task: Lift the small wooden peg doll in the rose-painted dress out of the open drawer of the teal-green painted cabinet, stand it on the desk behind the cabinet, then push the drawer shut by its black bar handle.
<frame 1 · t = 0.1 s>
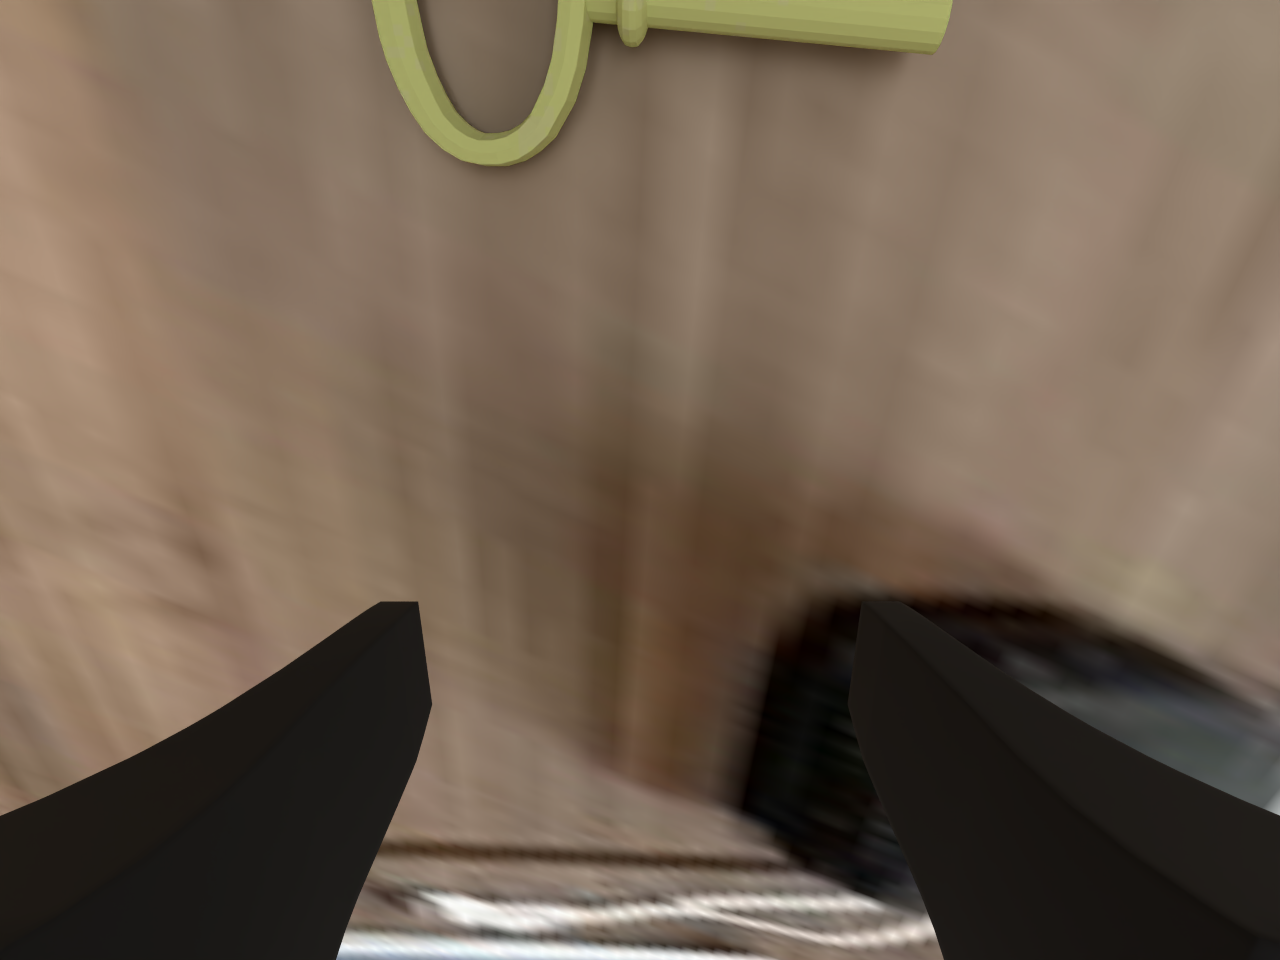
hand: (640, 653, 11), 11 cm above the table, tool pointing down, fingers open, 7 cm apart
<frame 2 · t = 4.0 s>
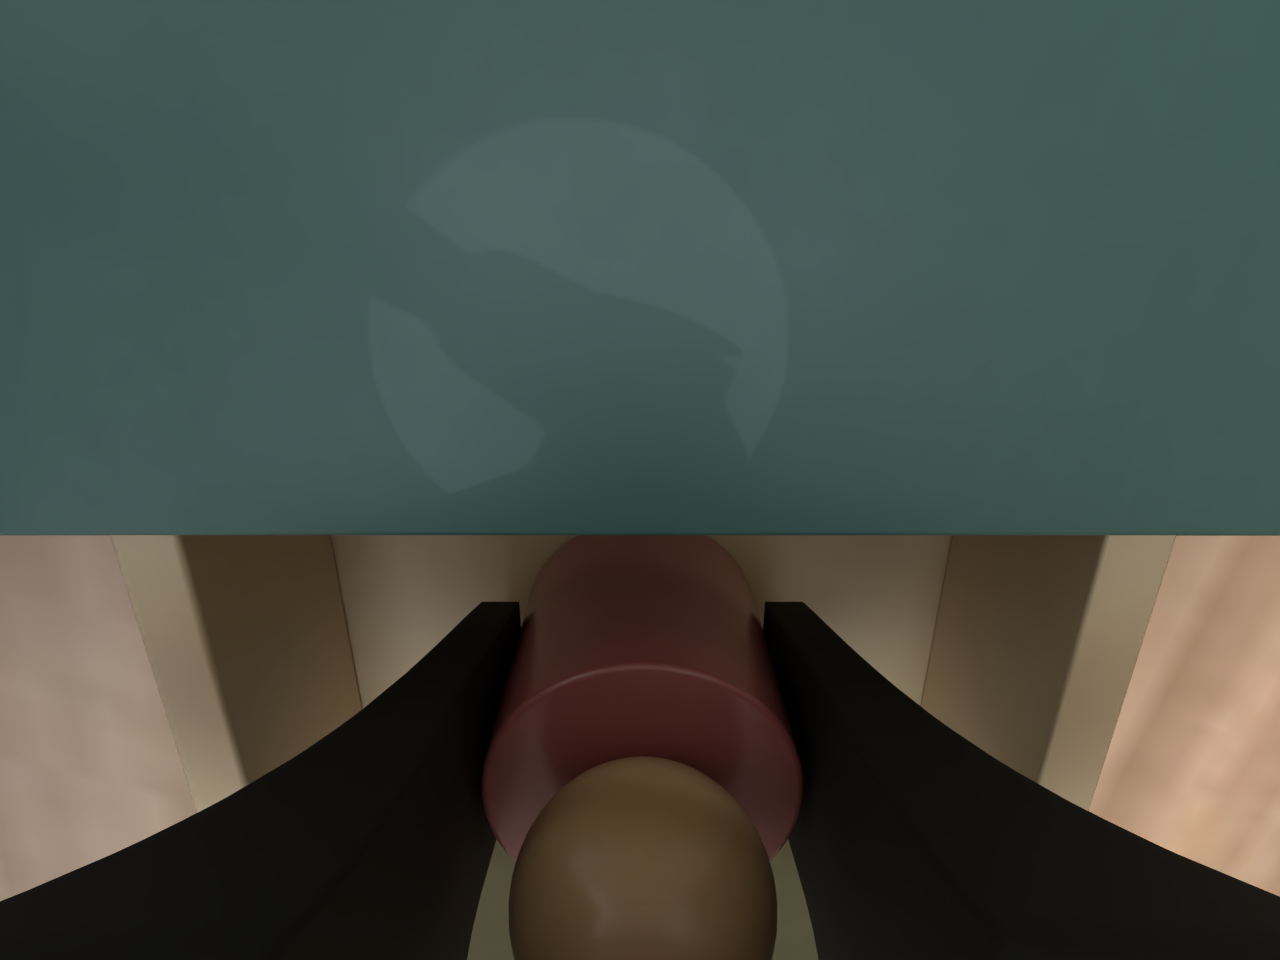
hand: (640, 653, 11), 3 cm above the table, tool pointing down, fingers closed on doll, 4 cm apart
doll: (641, 619, 12), point 2 cm above the table, touching drawer, gripper
drawer: (641, 739, 12), point 3 cm above the table, slide at 9.0 cm, touching doll
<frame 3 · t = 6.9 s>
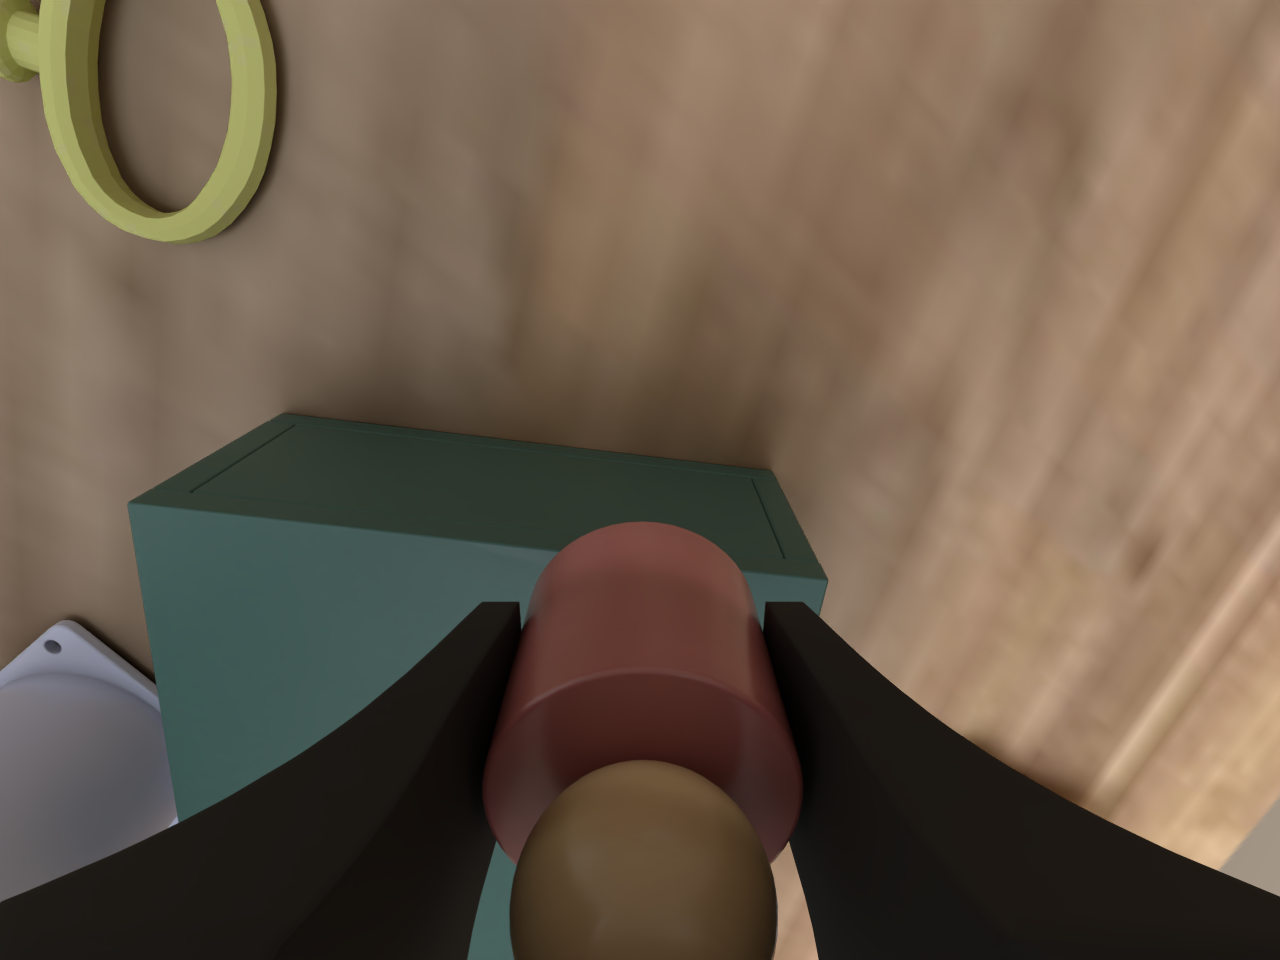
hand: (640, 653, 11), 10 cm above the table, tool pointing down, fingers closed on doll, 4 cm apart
doll: (641, 621, 12), point 9 cm above the table, touching gripper
cabinet: (516, 646, 23), on the table
key: (51, 50, 17), on the table
when the fingers open (1 cm above the table, at t = 9.9 s): doll stays where it is, on the table.
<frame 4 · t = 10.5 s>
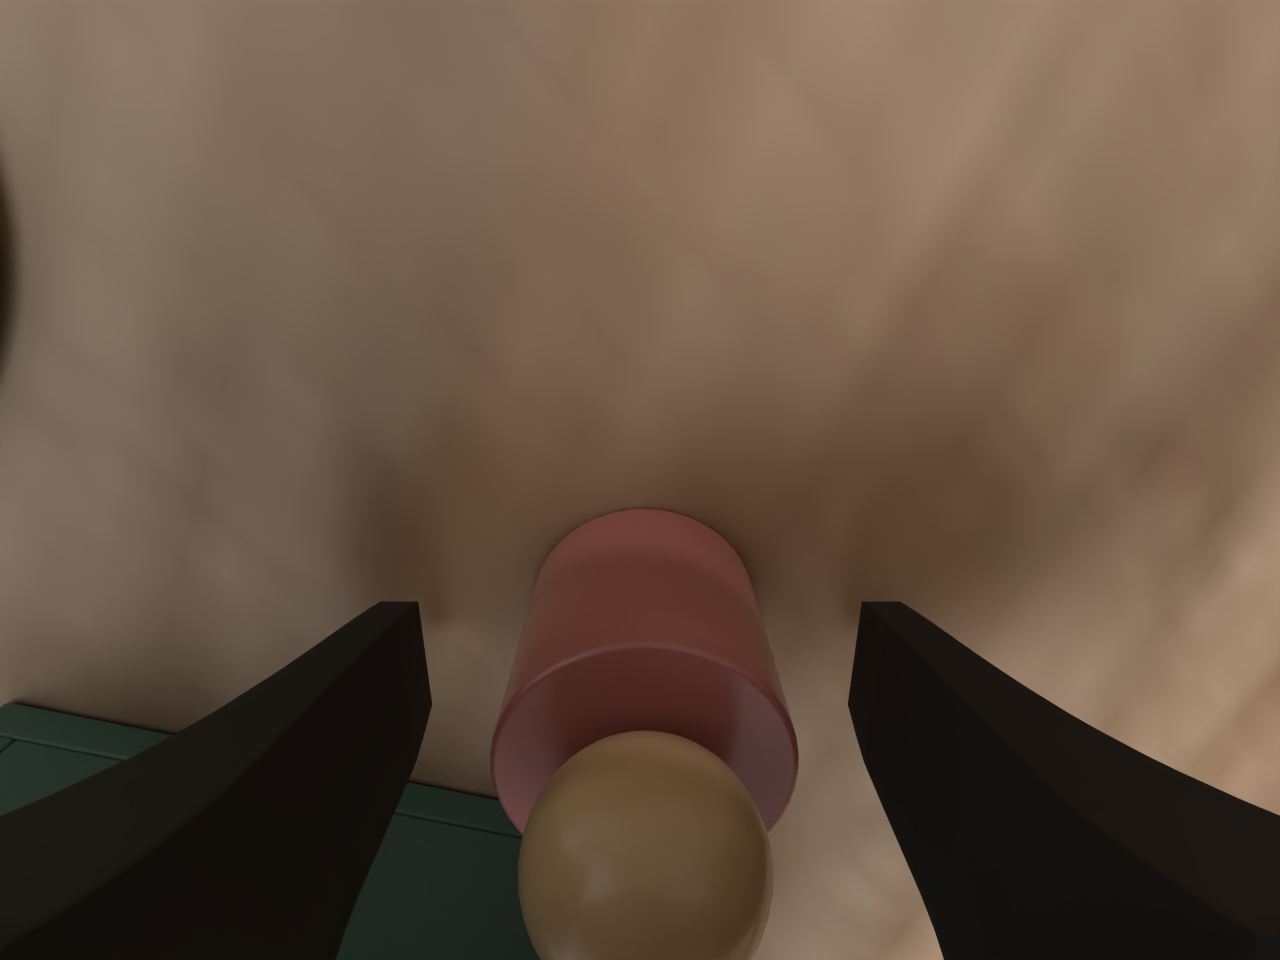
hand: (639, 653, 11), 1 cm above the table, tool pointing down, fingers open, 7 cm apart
doll: (643, 606, 13), on the table
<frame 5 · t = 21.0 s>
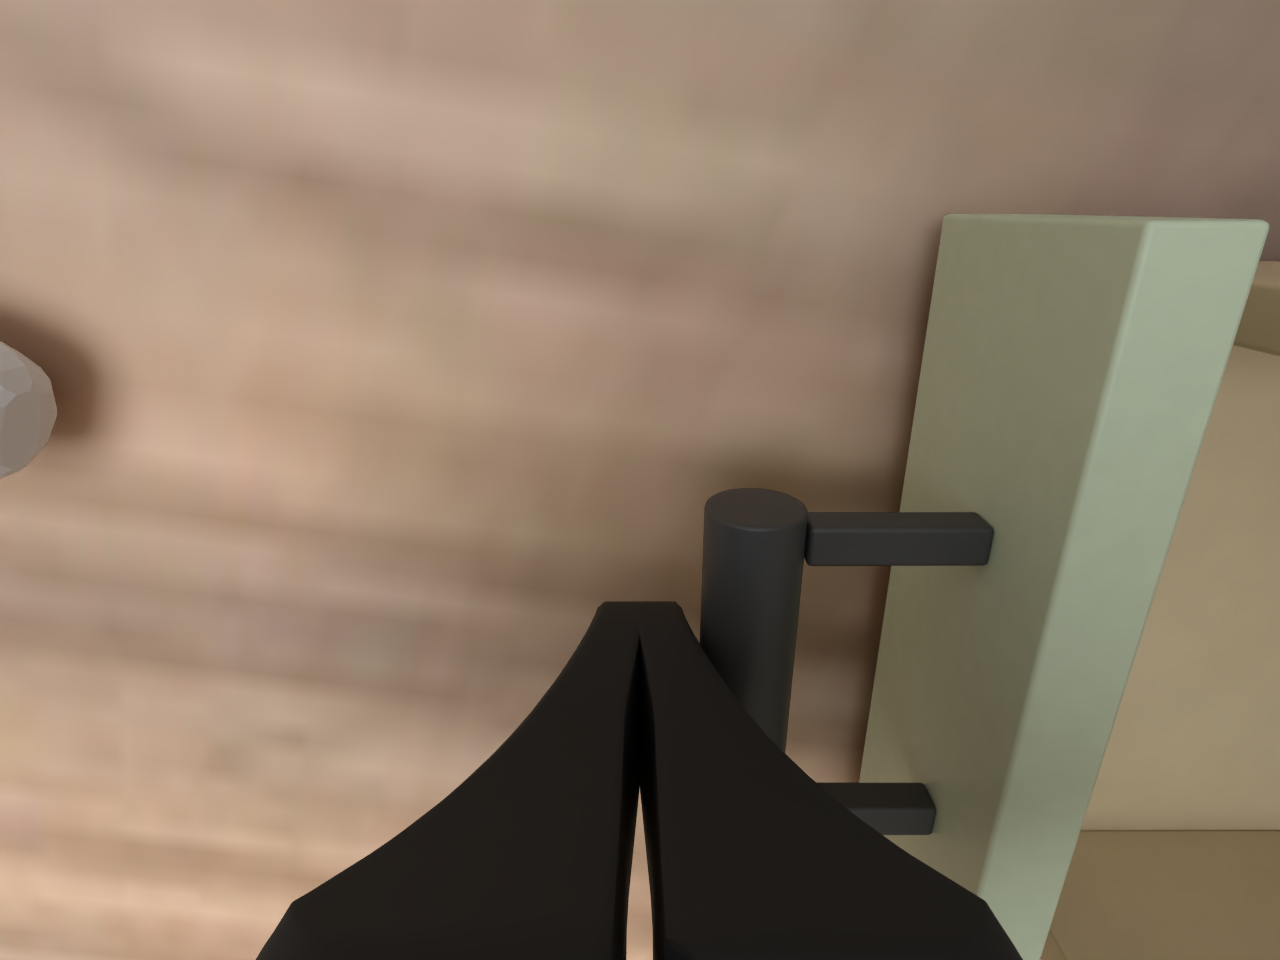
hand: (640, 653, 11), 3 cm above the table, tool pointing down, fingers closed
drawer: (1232, 658, 11), point 3 cm above the table, slide at 8.2 cm, touching gripper
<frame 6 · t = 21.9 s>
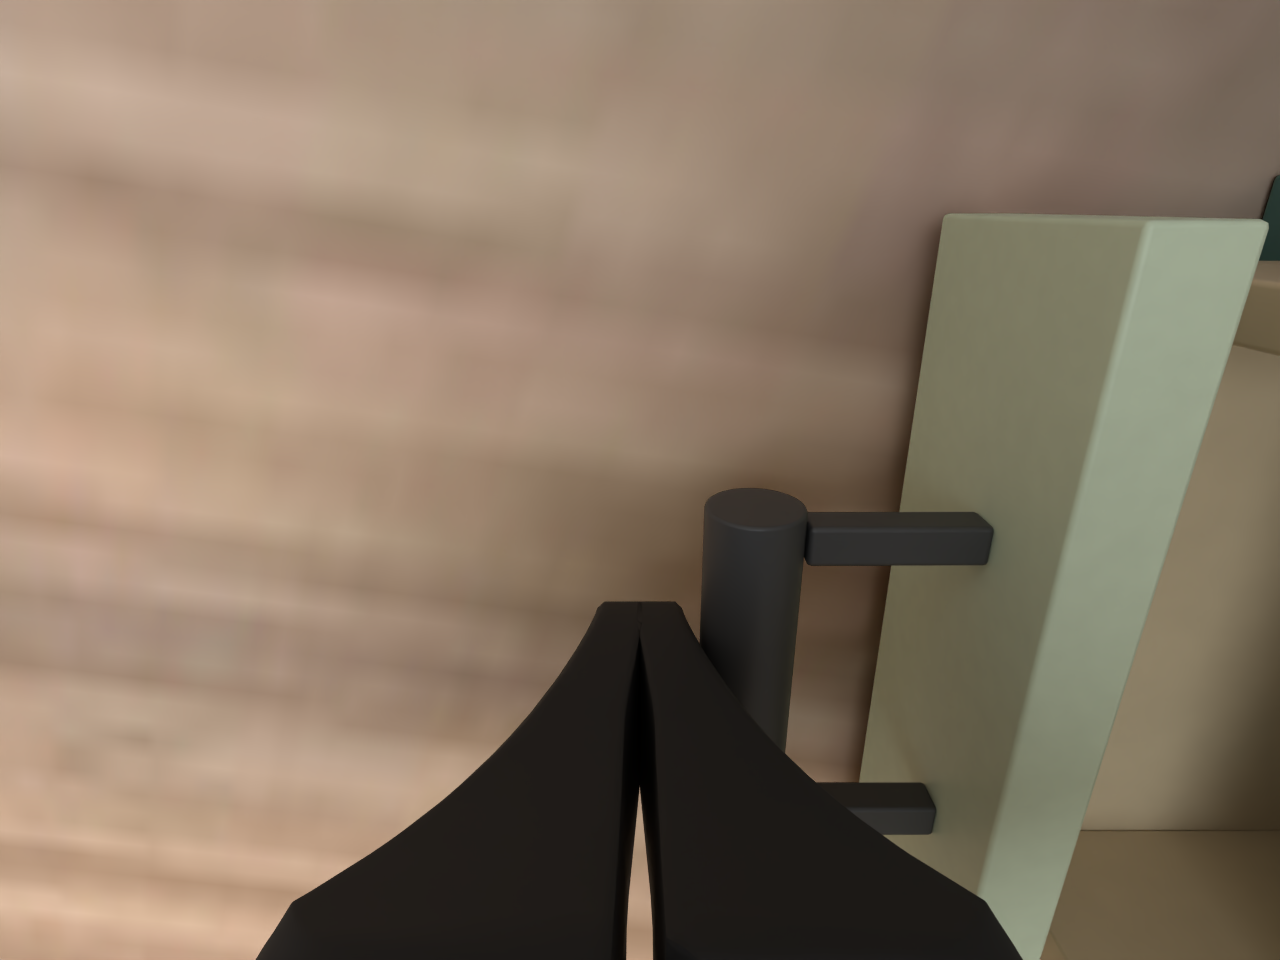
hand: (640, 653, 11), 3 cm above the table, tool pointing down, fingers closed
drawer: (1232, 658, 11), point 3 cm above the table, slide at 4.6 cm, touching gripper
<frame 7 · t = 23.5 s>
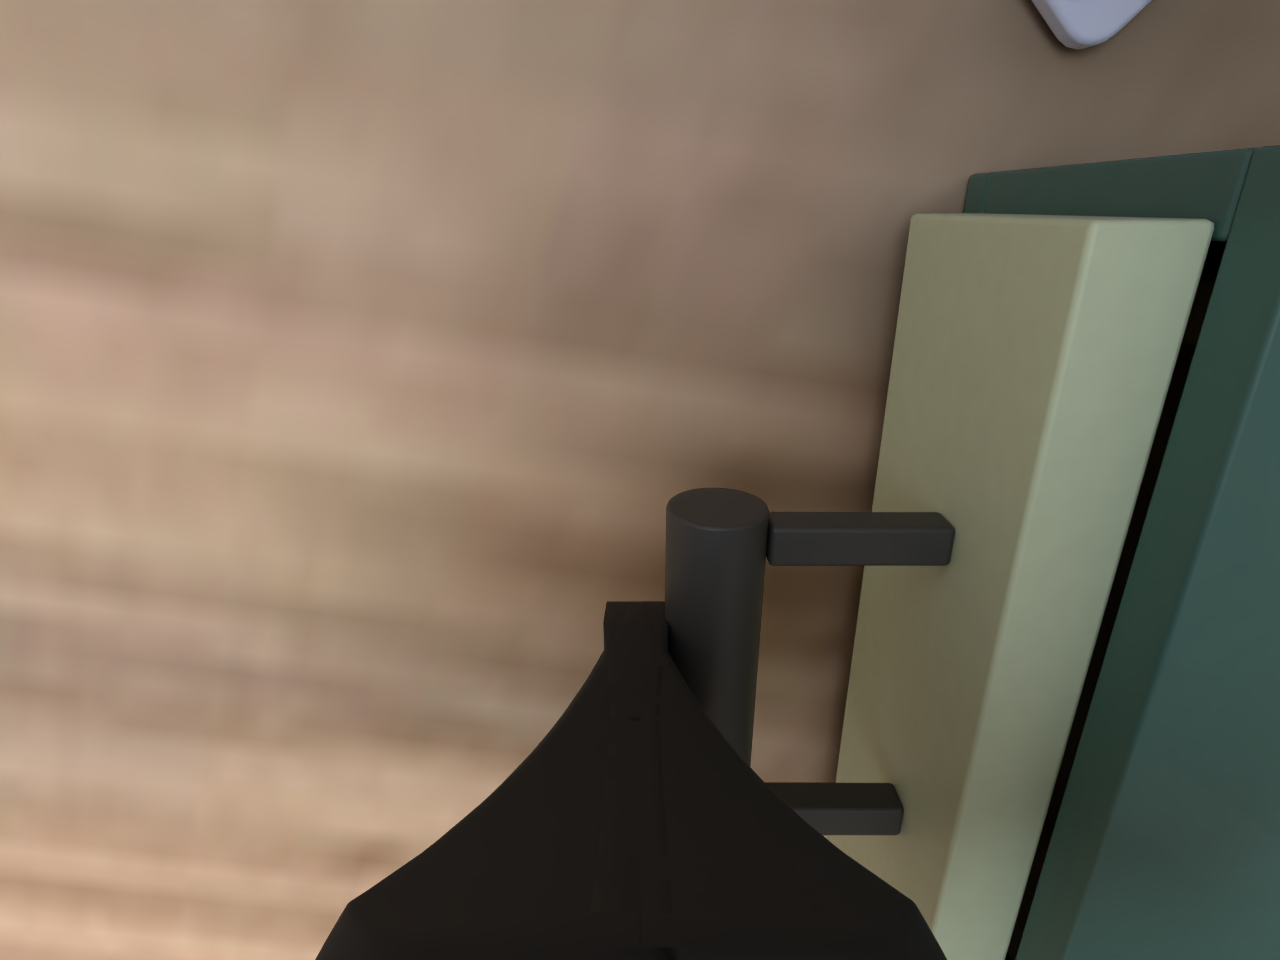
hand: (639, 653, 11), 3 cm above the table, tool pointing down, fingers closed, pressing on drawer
drawer: (1201, 659, 11), point 3 cm above the table, slide at 0.0 cm, touching cabinet, gripper
cabinet: (1261, 561, 14), on the table
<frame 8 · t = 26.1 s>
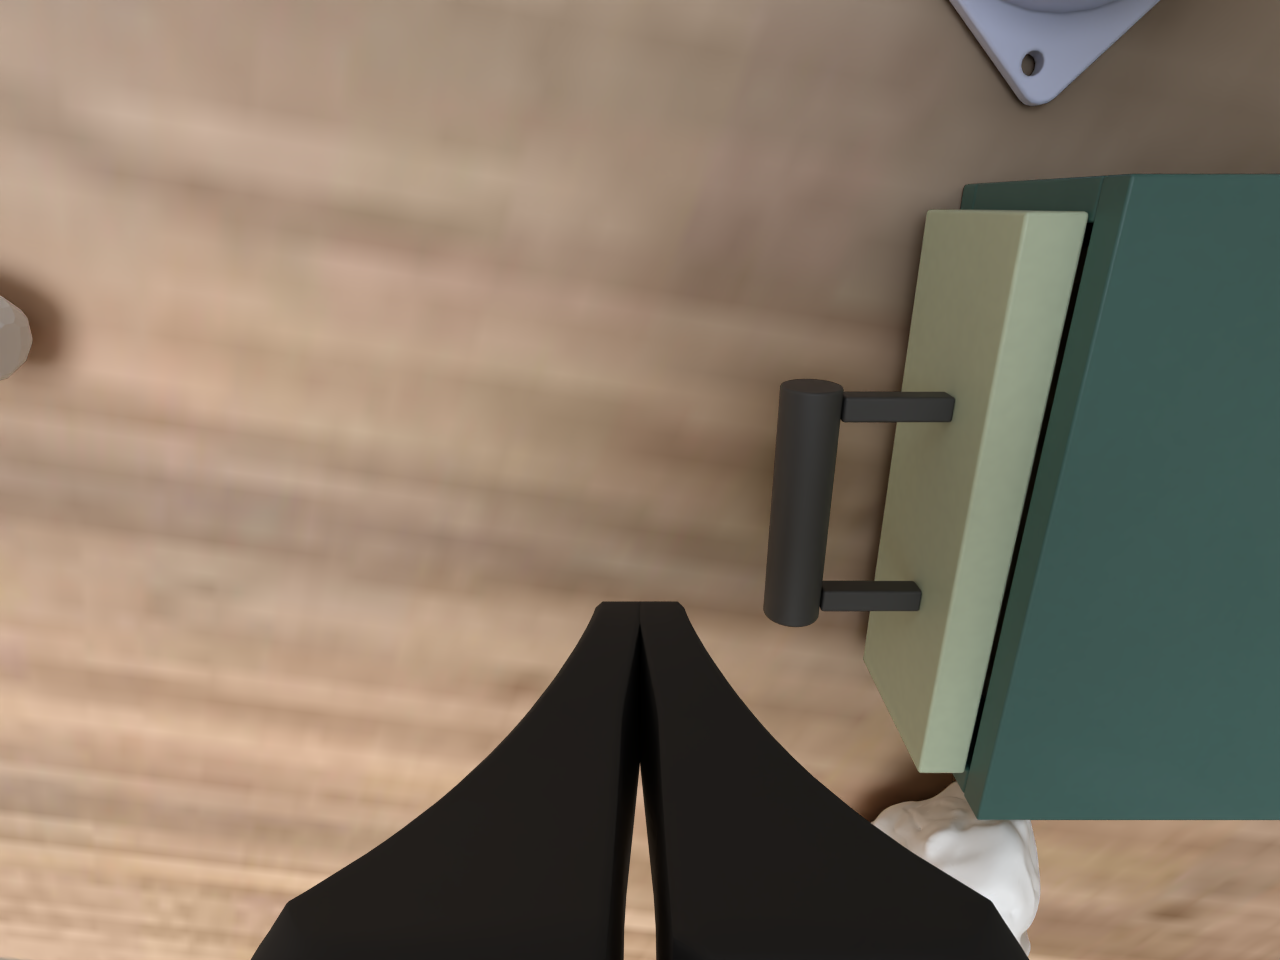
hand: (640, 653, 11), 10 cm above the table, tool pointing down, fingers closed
drawer: (1112, 495, 17), point 3 cm above the table, slide at 0.0 cm, touching cabinet
bust: (894, 846, 27), on the table
cabinet: (1167, 452, 21), on the table
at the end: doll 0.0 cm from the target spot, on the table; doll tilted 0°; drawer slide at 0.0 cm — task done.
